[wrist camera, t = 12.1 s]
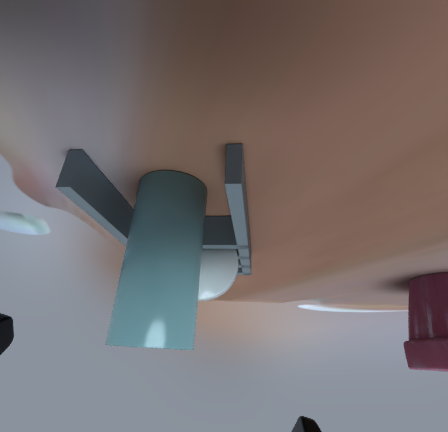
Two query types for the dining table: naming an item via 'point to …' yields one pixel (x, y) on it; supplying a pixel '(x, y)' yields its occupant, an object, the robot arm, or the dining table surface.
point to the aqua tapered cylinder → (161, 264)
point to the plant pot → (428, 323)
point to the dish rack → (122, 212)
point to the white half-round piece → (217, 272)
